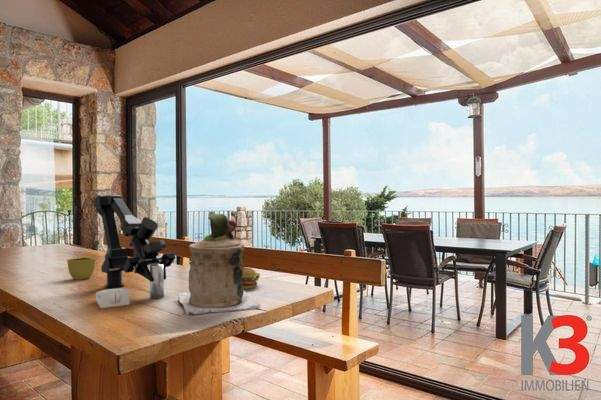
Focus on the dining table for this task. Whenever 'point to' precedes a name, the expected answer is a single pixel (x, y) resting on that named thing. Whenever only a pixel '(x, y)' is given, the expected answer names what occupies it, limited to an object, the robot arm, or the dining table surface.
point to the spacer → (157, 281)
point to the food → (249, 278)
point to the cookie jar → (217, 272)
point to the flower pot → (81, 267)
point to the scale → (113, 297)
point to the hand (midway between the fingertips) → (159, 280)
